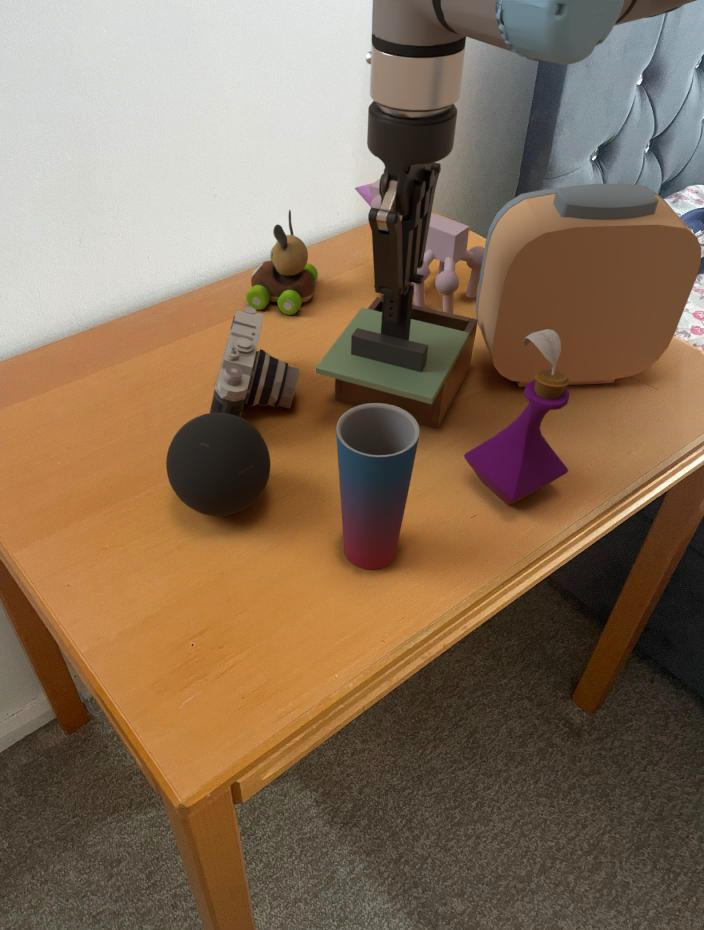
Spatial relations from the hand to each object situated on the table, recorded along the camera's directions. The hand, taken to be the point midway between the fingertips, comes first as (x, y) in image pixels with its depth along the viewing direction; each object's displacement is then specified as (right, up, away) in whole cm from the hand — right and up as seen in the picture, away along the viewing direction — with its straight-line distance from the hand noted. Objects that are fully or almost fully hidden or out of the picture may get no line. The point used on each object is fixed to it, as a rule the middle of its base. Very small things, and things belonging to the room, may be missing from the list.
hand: (394, 341), depth 80 cm
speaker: (-18, -17, -4) cm, 25 cm away
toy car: (-13, +11, +24) cm, 29 cm away
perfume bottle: (+12, -16, -2) cm, 20 cm away
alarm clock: (+21, 0, +12) cm, 24 cm away
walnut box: (+2, -3, +10) cm, 10 cm away
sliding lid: (0, -1, +2) cm, 2 cm away
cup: (-3, -22, -8) cm, 24 cm away
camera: (-15, -6, +7) cm, 18 cm away
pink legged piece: (+4, +13, +25) cm, 29 cm away
